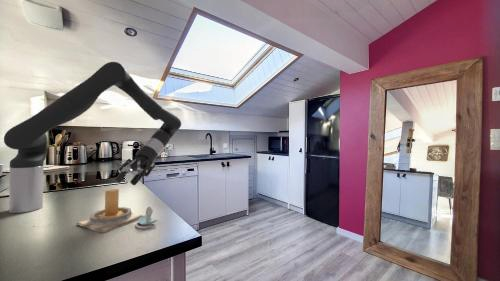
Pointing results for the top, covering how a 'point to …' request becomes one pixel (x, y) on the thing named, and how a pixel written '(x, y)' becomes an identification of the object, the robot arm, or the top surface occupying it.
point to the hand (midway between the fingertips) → (124, 182)
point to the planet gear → (111, 204)
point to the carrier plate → (109, 227)
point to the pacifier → (146, 219)
